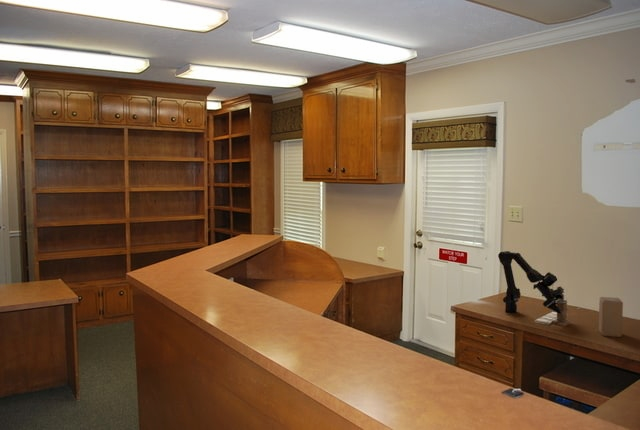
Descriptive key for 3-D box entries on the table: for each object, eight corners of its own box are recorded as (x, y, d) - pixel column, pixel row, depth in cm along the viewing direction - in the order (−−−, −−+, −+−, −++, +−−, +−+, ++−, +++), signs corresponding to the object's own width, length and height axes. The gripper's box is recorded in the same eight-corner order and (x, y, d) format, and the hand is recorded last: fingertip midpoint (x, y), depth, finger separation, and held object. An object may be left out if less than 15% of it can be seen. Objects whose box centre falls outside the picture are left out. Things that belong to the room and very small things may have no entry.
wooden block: (618, 332, 292) (619, 297, 290) (622, 337, 282) (623, 301, 281) (598, 330, 295) (599, 296, 293) (601, 336, 286) (602, 300, 284)
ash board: (548, 325, 307) (548, 322, 307) (534, 322, 313) (534, 320, 313) (565, 316, 325) (565, 314, 325) (552, 313, 331) (552, 311, 331)
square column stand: (553, 323, 310) (553, 300, 309) (557, 321, 315) (558, 298, 313) (565, 326, 305) (565, 302, 304) (569, 323, 310) (570, 300, 308)
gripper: (548, 285, 304) (567, 306, 297) (561, 280, 317) (579, 301, 310) (535, 296, 311) (553, 317, 303) (548, 290, 323) (565, 311, 316)
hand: (563, 311), depth 308 cm, fingers open, 9 cm apart
